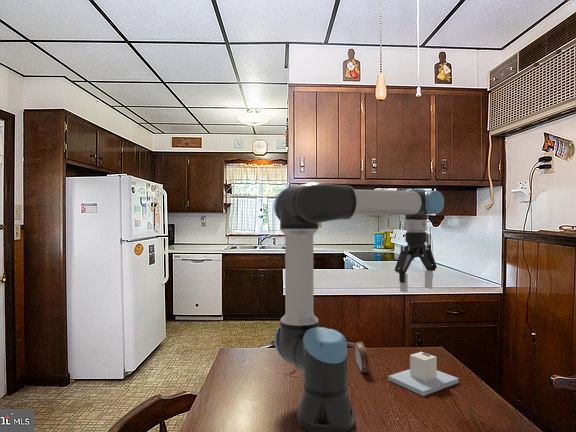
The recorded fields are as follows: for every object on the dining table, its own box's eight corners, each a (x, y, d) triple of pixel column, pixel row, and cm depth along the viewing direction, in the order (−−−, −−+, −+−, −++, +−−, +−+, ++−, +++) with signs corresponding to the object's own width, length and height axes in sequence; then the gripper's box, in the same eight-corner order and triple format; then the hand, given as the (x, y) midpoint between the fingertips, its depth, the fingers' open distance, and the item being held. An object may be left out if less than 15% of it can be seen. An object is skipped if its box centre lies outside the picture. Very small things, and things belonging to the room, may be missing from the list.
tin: (369, 376, 131) (369, 352, 131) (360, 376, 131) (360, 351, 131) (362, 360, 146) (362, 338, 146) (354, 360, 146) (354, 338, 146)
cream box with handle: (425, 382, 122) (424, 359, 122) (410, 375, 127) (409, 354, 127) (436, 378, 125) (436, 355, 126) (421, 372, 131) (421, 350, 131)
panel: (423, 396, 116) (423, 374, 116) (388, 380, 127) (388, 360, 127) (458, 382, 125) (458, 363, 125) (423, 369, 137) (422, 351, 137)
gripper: (400, 232, 128) (401, 295, 127) (446, 231, 141) (446, 288, 141) (384, 231, 134) (384, 291, 134) (429, 231, 148) (429, 285, 147)
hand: (416, 290), depth 137 cm, fingers open, 13 cm apart
